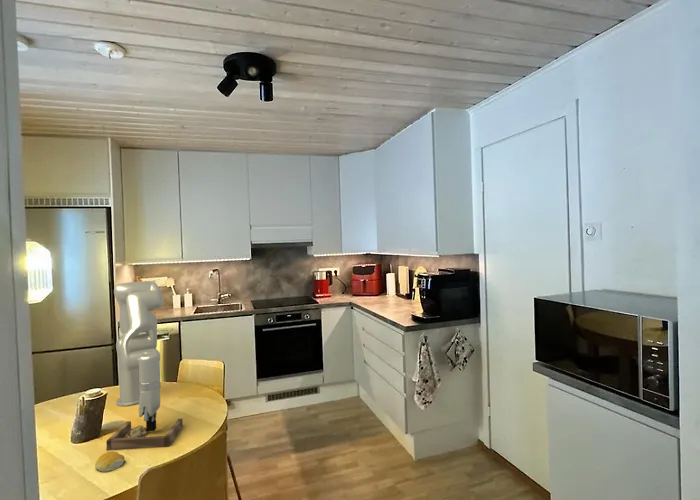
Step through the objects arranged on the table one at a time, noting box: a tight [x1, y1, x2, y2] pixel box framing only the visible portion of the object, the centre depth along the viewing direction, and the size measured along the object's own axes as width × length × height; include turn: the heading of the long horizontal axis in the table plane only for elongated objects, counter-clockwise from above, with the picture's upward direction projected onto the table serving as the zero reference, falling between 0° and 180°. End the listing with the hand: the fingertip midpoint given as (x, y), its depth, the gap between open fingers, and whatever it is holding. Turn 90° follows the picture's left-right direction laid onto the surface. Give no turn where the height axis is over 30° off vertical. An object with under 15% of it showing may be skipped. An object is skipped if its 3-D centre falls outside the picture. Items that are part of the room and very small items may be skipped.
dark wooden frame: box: [105, 417, 184, 451], centre depth 156 cm, size 16×22×4 cm
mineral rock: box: [125, 425, 149, 438], centre depth 157 cm, size 11×4×8 cm
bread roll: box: [94, 450, 126, 473], centre depth 137 cm, size 8×9×4 cm
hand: (151, 430), depth 160 cm, fingers closed
